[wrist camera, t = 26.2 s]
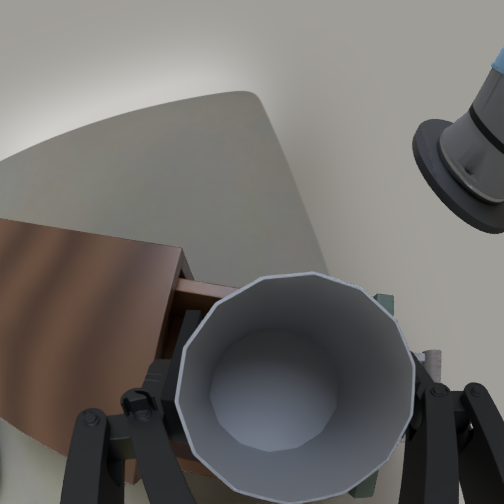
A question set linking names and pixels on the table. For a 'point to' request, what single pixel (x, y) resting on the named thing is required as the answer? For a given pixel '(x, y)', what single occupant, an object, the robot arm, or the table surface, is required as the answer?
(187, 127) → the table surface
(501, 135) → the robot arm
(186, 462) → the drawer
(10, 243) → the cabinet
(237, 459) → the cup
